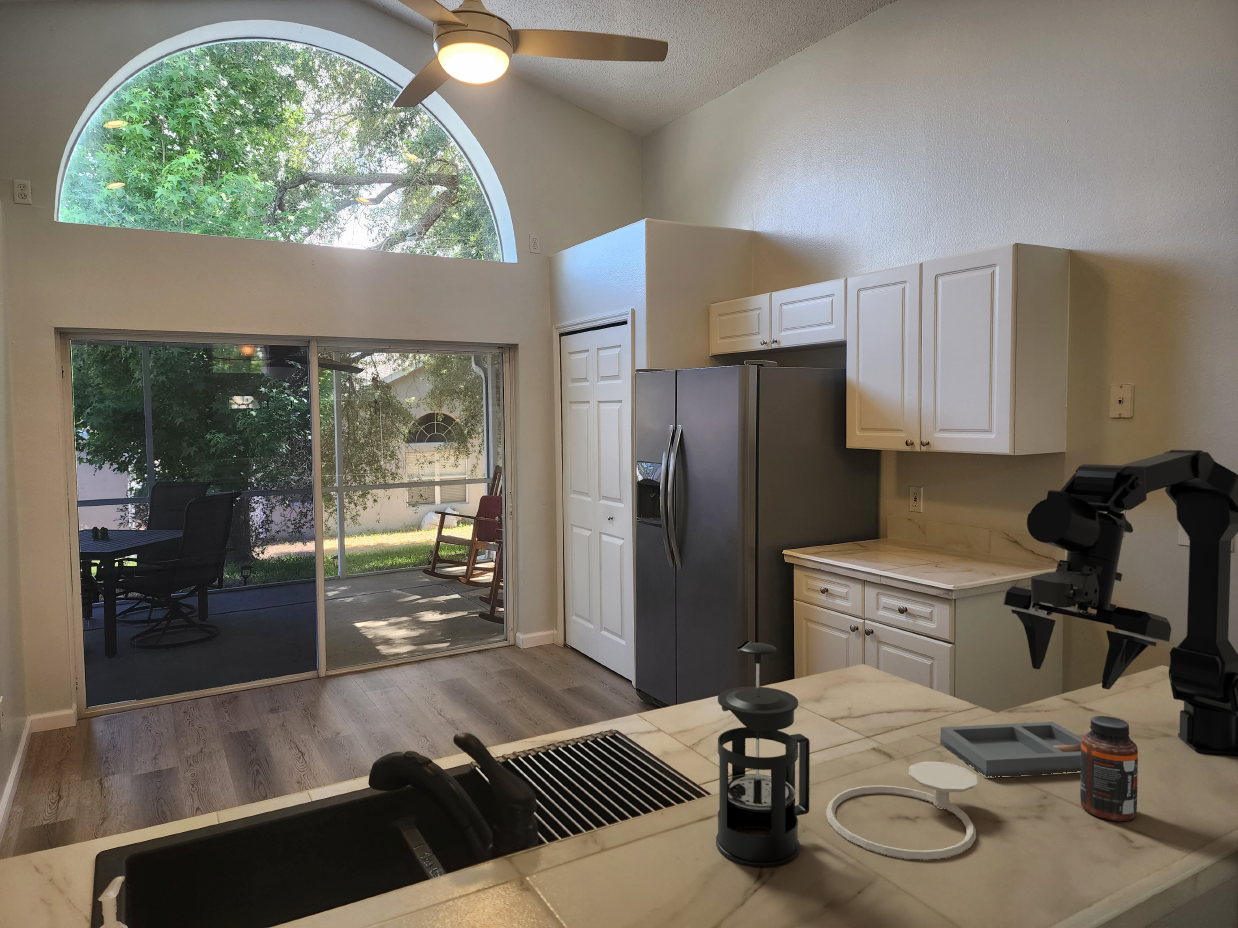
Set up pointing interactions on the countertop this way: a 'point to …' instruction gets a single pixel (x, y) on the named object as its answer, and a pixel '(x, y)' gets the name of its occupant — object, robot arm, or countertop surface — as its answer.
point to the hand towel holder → (929, 776)
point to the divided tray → (1015, 748)
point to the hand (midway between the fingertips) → (1069, 678)
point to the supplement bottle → (1109, 770)
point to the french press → (757, 794)
